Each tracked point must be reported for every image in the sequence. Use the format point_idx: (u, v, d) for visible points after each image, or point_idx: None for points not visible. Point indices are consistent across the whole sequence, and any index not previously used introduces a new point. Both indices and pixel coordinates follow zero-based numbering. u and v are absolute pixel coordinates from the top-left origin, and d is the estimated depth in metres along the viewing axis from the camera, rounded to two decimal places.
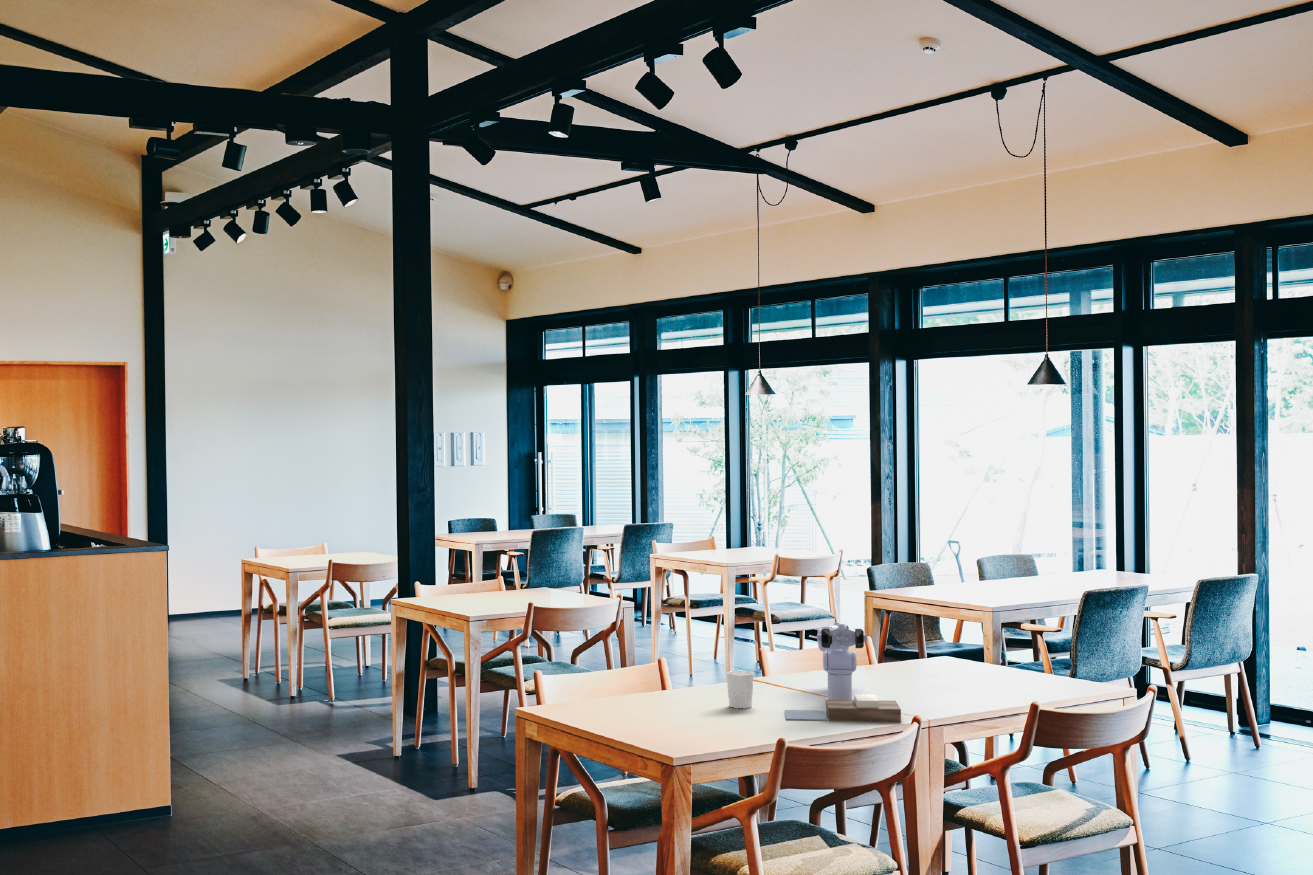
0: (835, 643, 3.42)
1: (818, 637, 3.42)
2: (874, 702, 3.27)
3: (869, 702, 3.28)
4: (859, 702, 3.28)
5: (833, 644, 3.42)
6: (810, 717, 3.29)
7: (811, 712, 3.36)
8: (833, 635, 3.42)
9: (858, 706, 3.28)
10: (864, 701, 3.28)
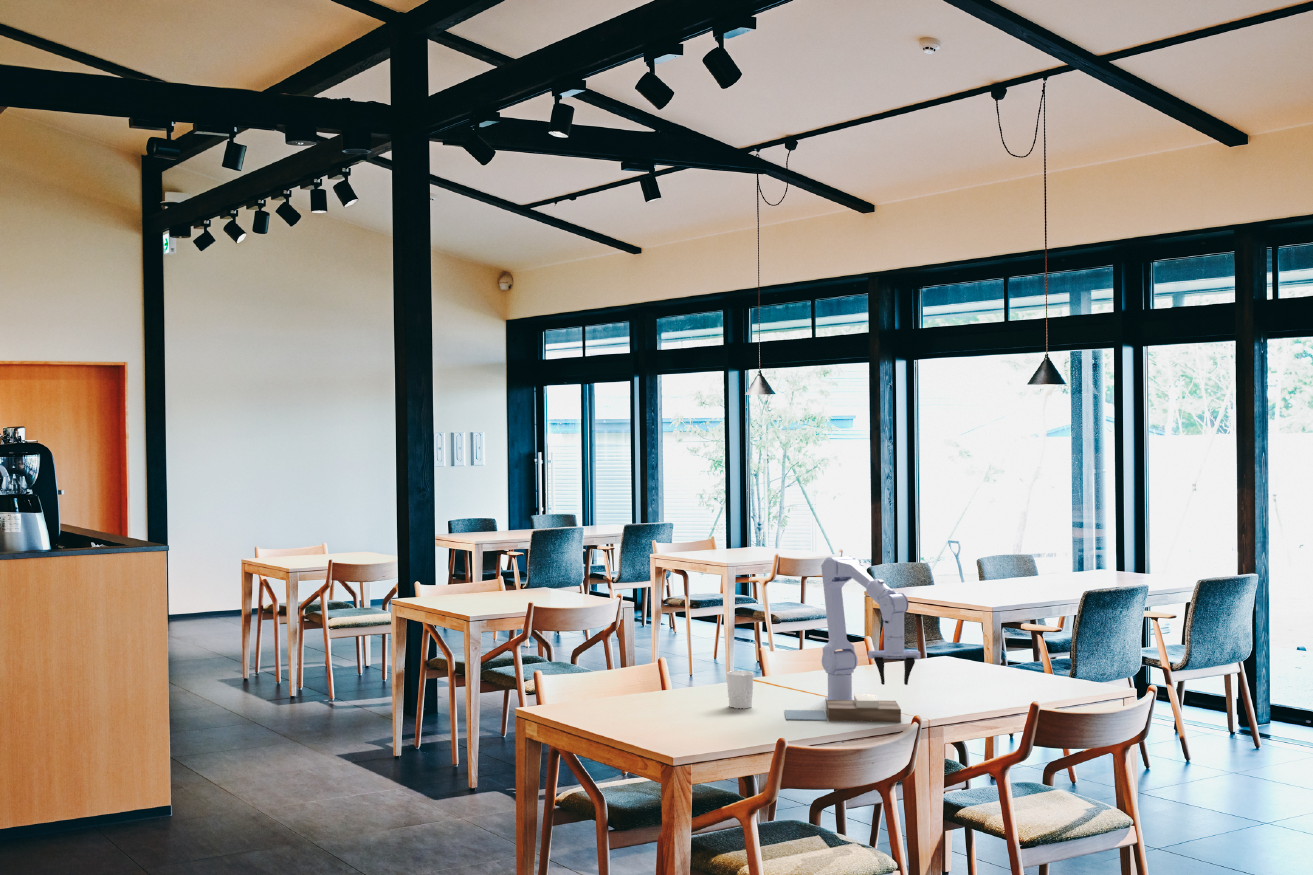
0: None
1: None
2: (874, 702, 3.27)
3: (869, 702, 3.28)
4: (859, 702, 3.28)
5: None
6: (810, 717, 3.29)
7: (811, 712, 3.36)
8: None
9: (858, 706, 3.28)
10: (864, 701, 3.28)
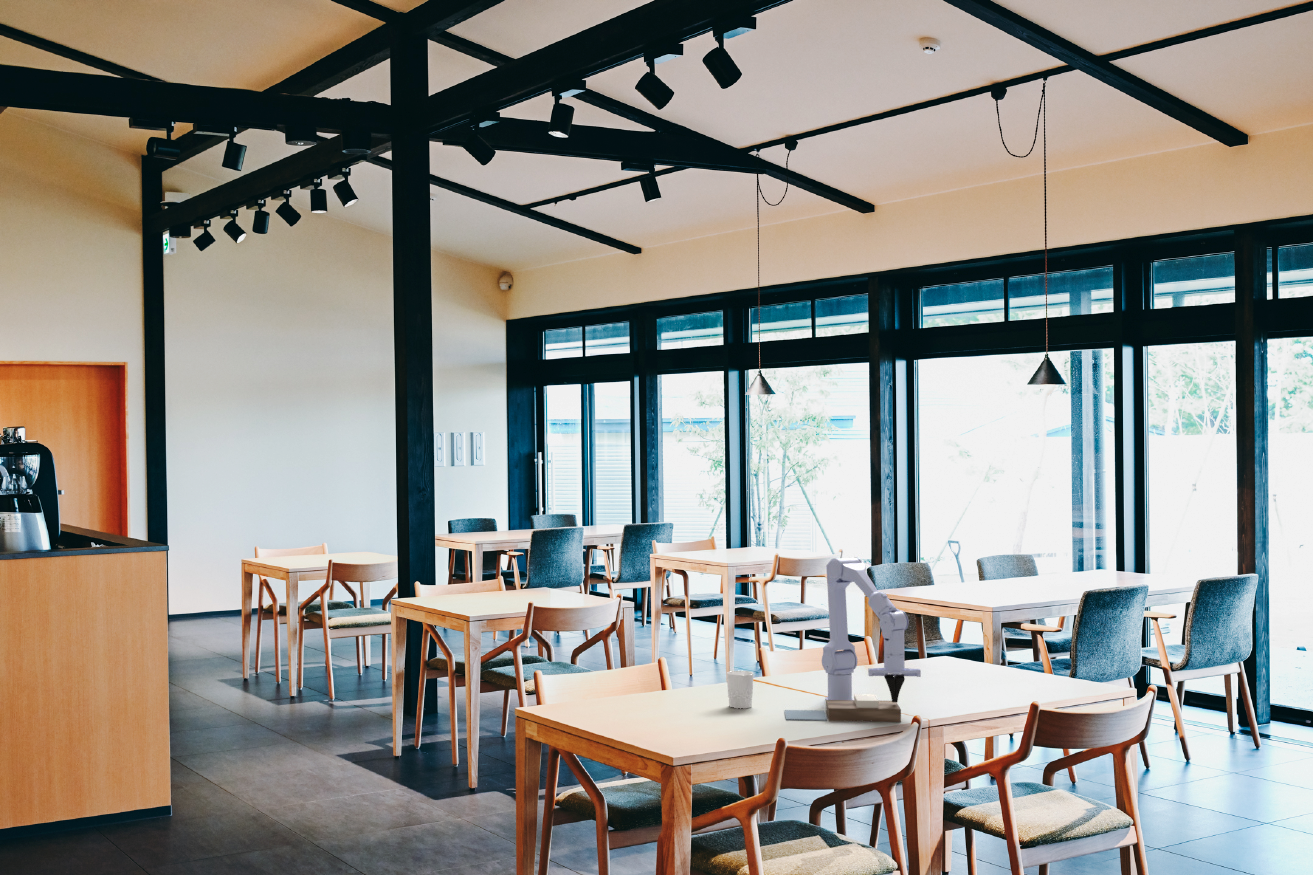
0: None
1: None
2: (874, 702, 3.27)
3: (869, 702, 3.28)
4: (859, 702, 3.28)
5: None
6: (810, 717, 3.29)
7: (811, 712, 3.36)
8: None
9: (858, 706, 3.28)
10: (864, 701, 3.28)
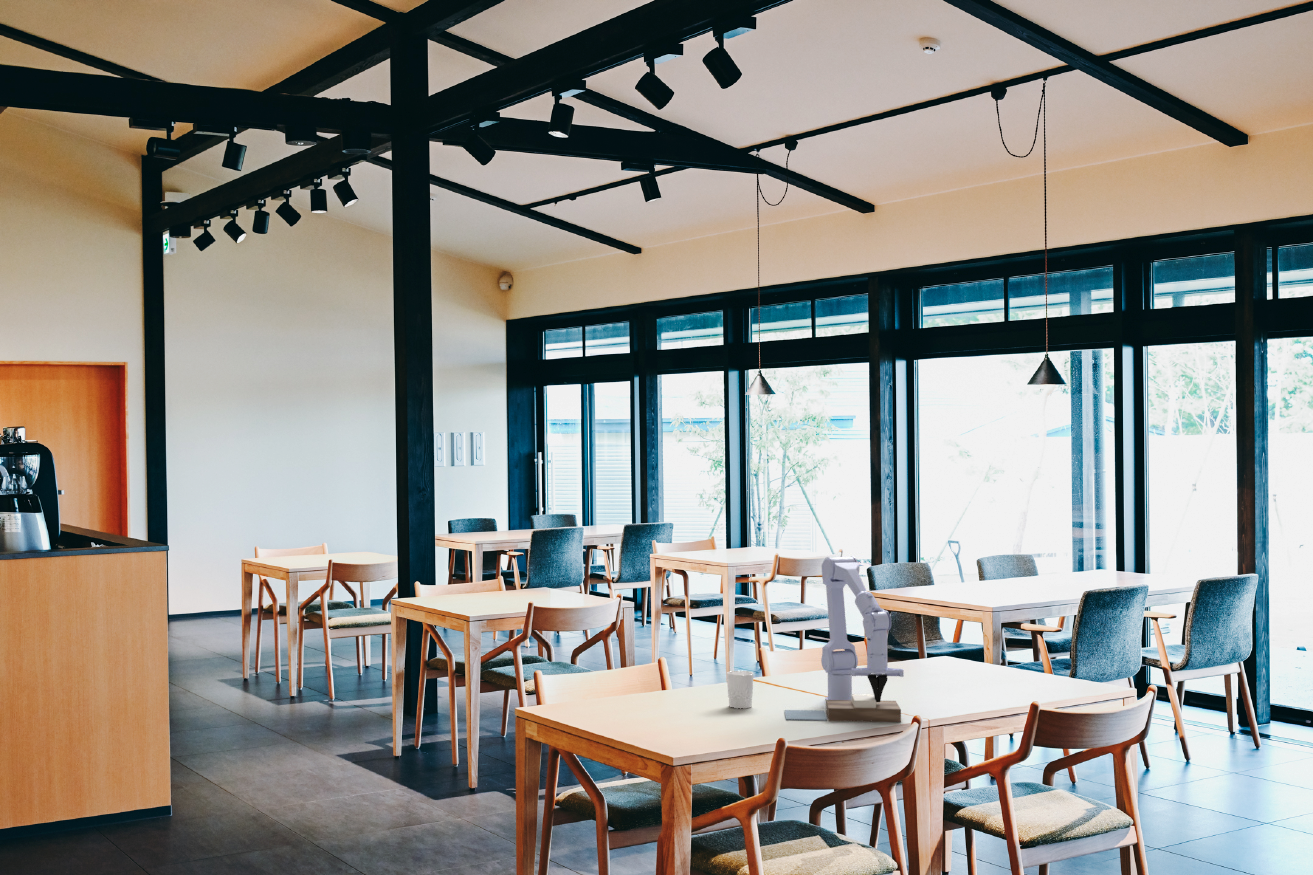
0: None
1: None
2: (871, 702, 3.28)
3: (866, 702, 3.28)
4: (856, 702, 3.28)
5: None
6: (810, 717, 3.29)
7: (811, 712, 3.36)
8: None
9: (855, 706, 3.28)
10: (861, 701, 3.28)
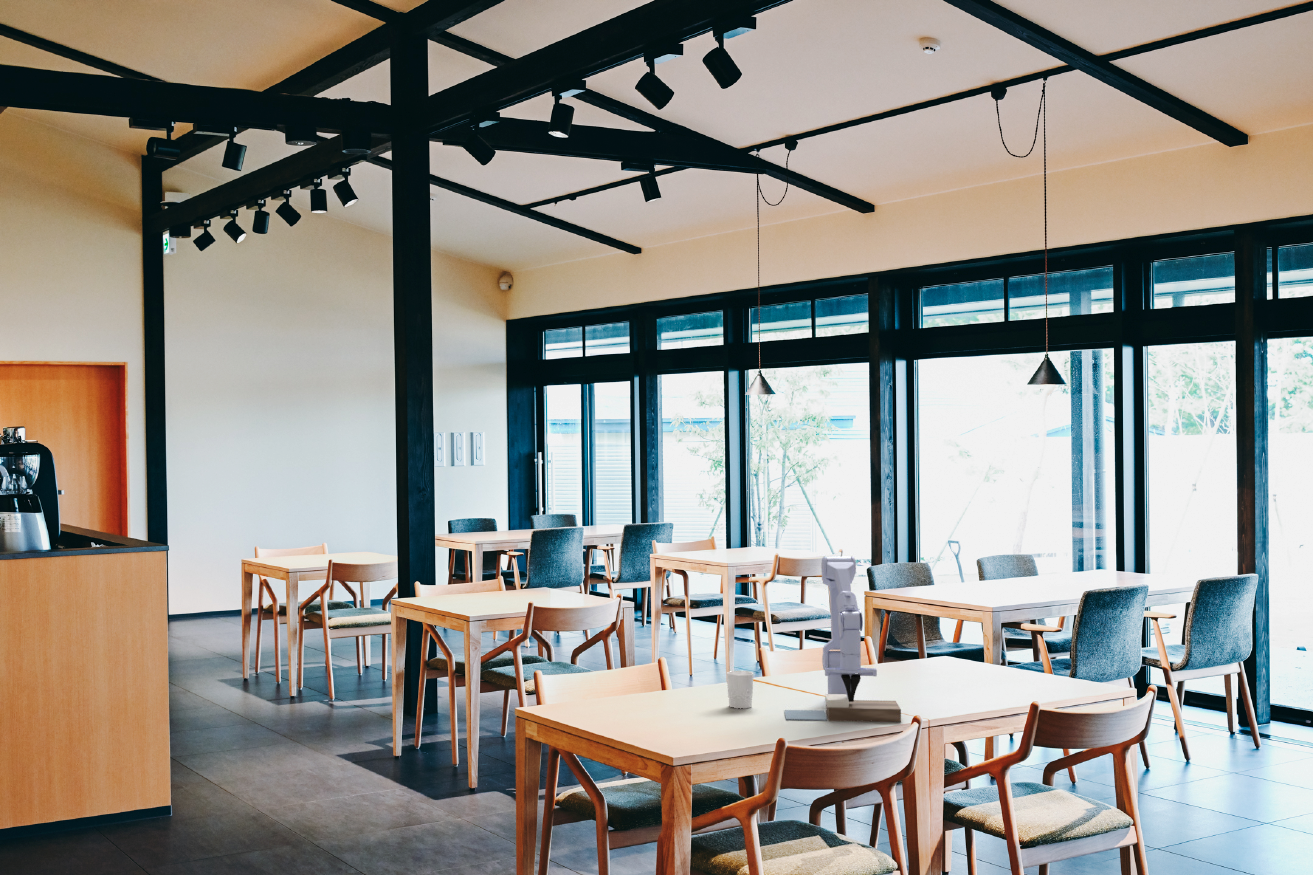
0: None
1: None
2: (844, 702, 3.28)
3: (839, 702, 3.28)
4: (829, 702, 3.28)
5: None
6: (810, 717, 3.29)
7: (811, 712, 3.36)
8: None
9: (828, 706, 3.28)
10: (834, 701, 3.28)
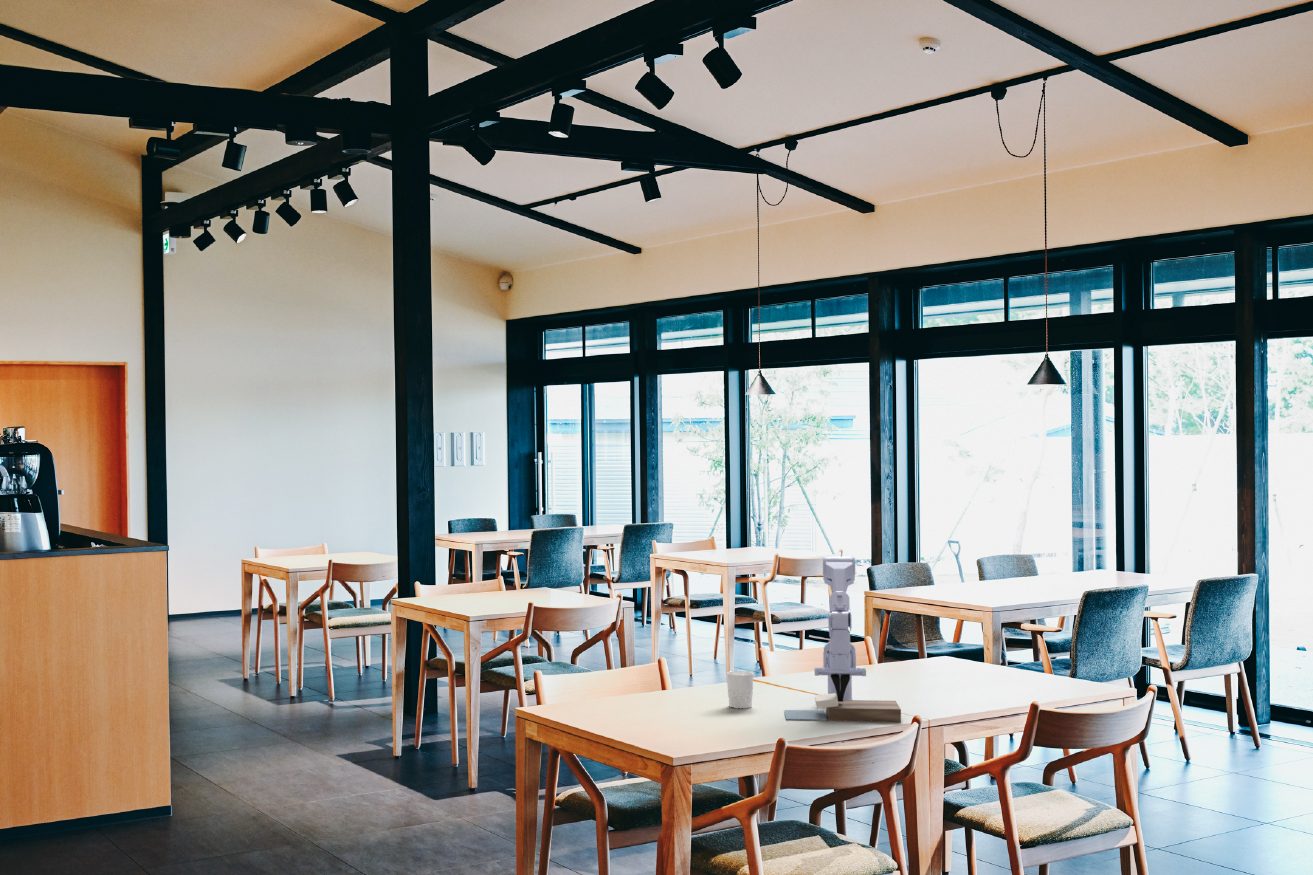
0: None
1: None
2: (833, 701, 3.28)
3: (828, 701, 3.28)
4: (819, 703, 3.29)
5: None
6: (810, 717, 3.29)
7: (811, 712, 3.36)
8: None
9: (818, 707, 3.29)
10: (823, 701, 3.29)
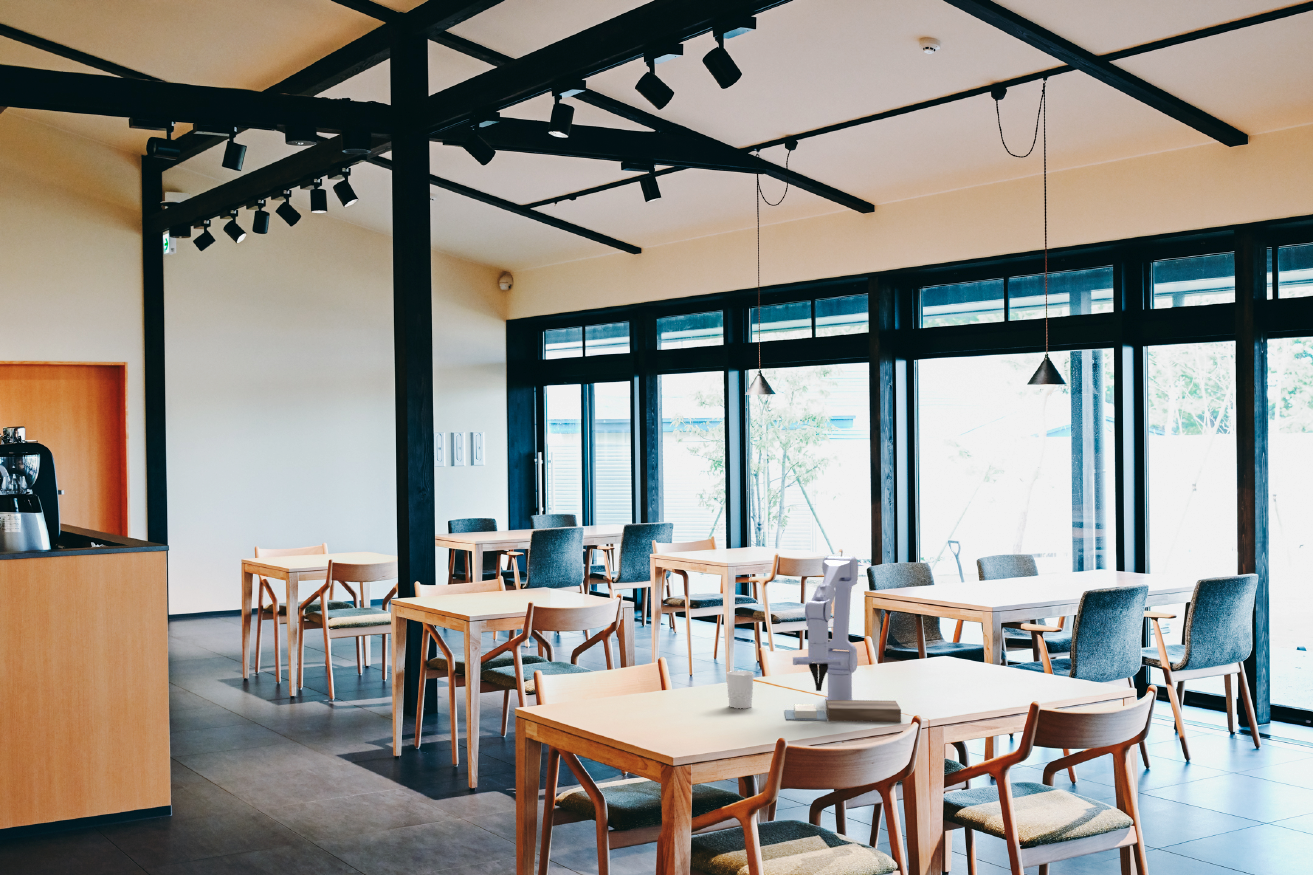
0: None
1: None
2: (799, 715, 3.29)
3: (804, 715, 3.29)
4: (814, 715, 3.29)
5: None
6: None
7: None
8: None
9: (815, 711, 3.29)
10: (809, 716, 3.29)
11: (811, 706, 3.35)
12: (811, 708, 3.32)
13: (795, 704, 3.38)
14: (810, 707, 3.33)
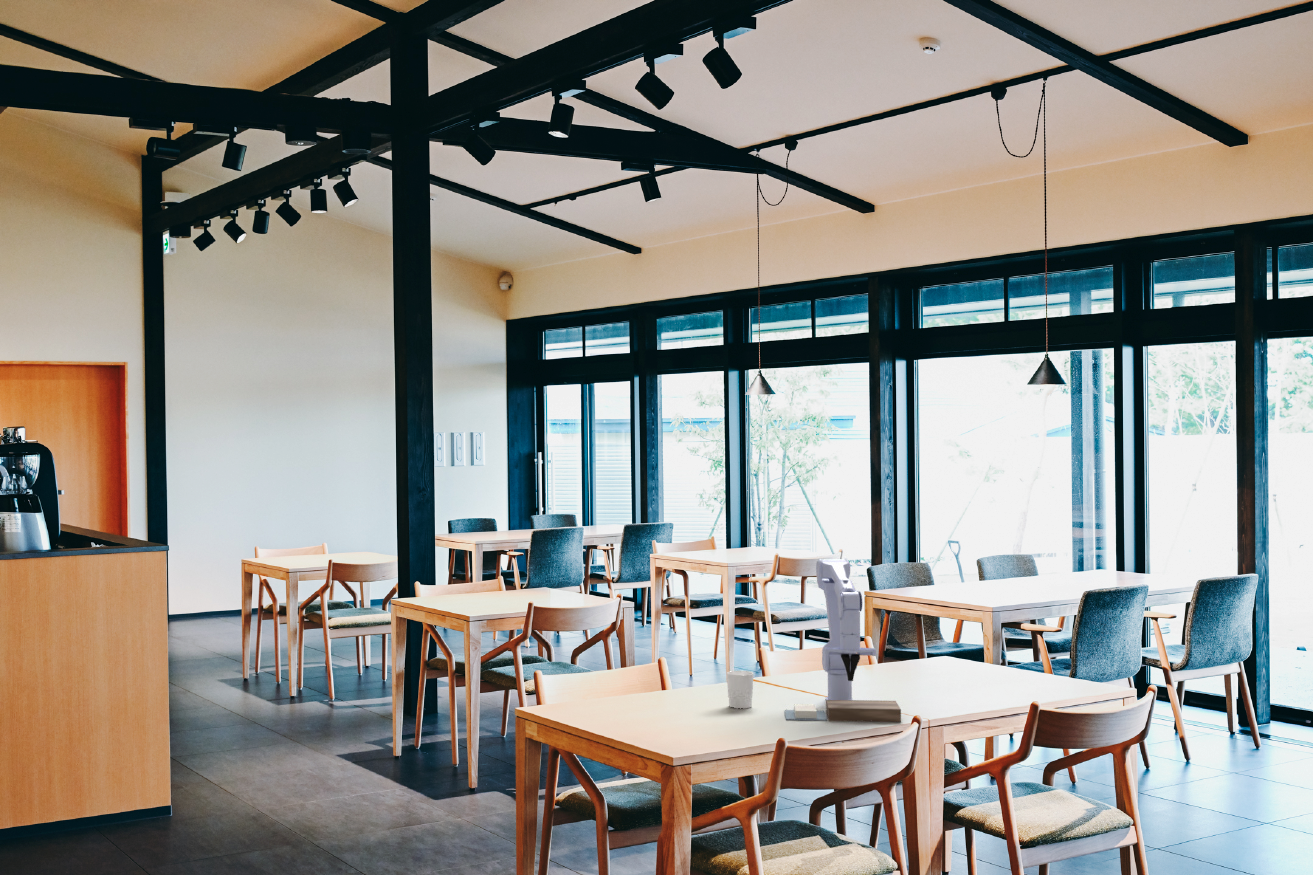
0: None
1: None
2: (799, 715, 3.29)
3: (804, 715, 3.29)
4: (814, 715, 3.29)
5: None
6: None
7: None
8: None
9: (815, 711, 3.29)
10: (809, 716, 3.29)
11: (811, 706, 3.35)
12: (811, 708, 3.32)
13: (795, 704, 3.38)
14: (810, 707, 3.33)
